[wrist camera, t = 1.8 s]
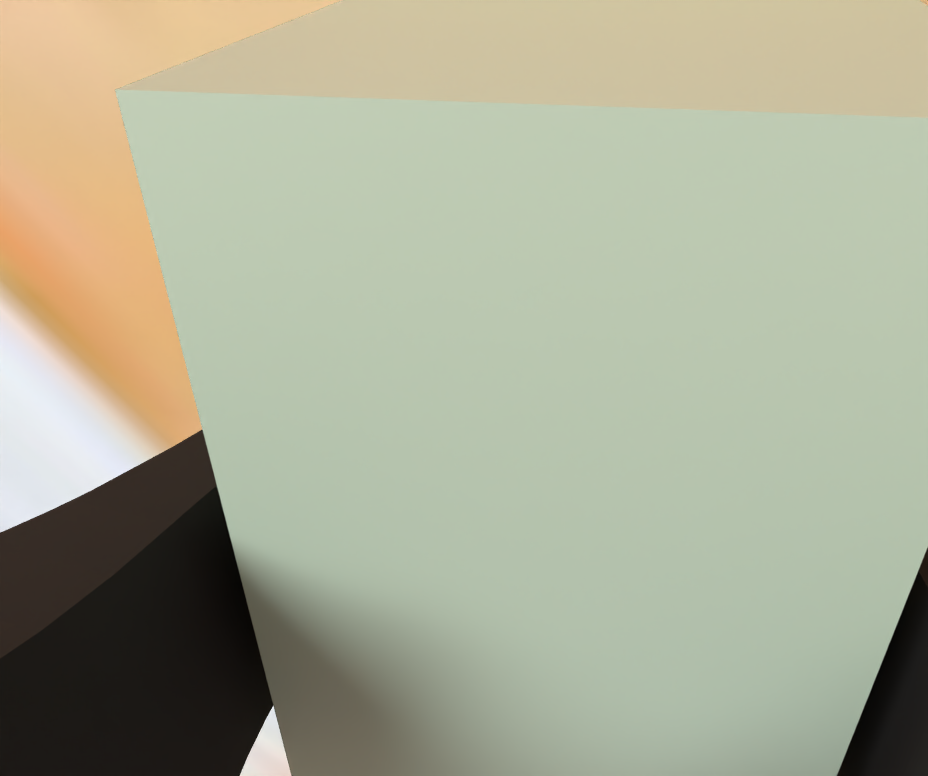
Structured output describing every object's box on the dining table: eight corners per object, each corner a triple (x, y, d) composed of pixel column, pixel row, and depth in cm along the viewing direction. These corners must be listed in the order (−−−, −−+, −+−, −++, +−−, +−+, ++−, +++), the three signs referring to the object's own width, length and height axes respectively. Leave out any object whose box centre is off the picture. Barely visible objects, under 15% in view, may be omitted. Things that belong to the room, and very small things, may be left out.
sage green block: (729, 663, 13) (737, 1024, 9) (435, 609, 14) (326, 909, 10) (891, -20, 8) (1097, 124, 4) (391, -20, 9) (116, 89, 5)
